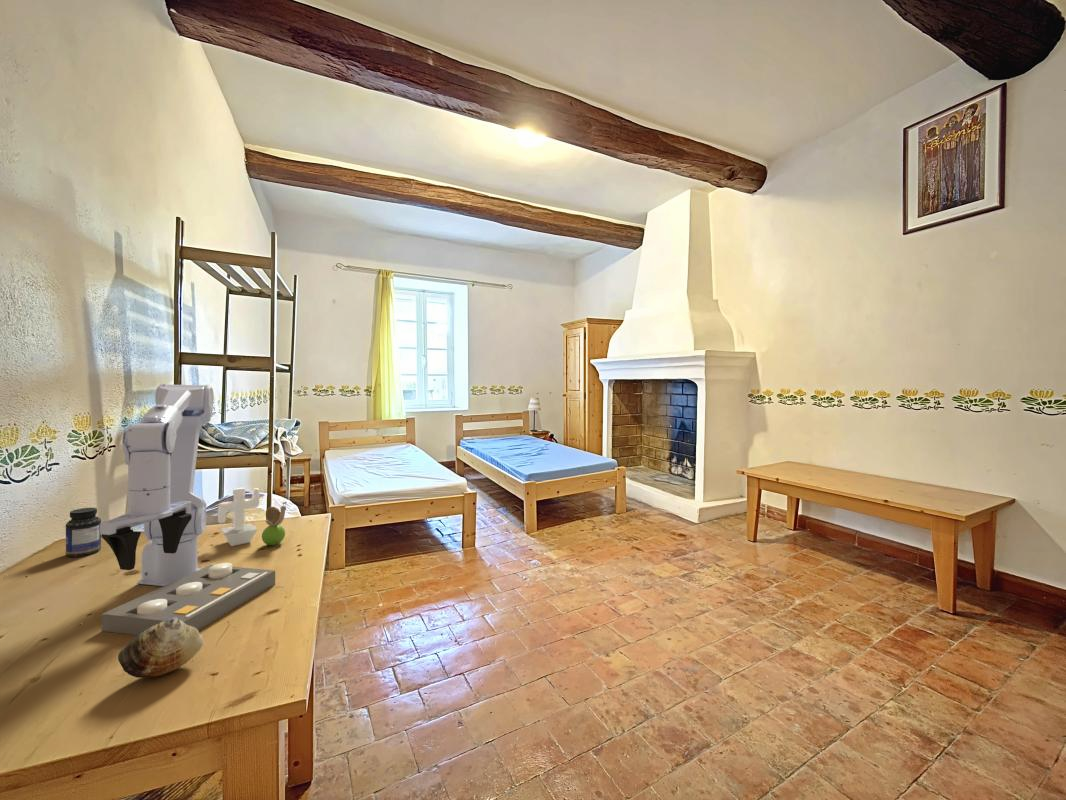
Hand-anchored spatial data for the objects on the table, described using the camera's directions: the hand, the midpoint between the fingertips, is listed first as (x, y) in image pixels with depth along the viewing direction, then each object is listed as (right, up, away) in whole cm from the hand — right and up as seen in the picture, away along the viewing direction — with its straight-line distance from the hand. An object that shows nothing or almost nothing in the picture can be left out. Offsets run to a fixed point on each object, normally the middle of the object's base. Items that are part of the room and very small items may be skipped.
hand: (149, 560), depth 78 cm
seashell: (+16, -11, -15) cm, 25 cm away
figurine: (-10, -10, +38) cm, 40 cm away
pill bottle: (-43, -9, +28) cm, 52 cm away
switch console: (+5, -10, +4) cm, 13 cm away
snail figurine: (+1, -10, +36) cm, 38 cm away
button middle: (+3, -10, +5) cm, 11 cm away
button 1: (+2, -10, -2) cm, 11 cm away
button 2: (+4, -9, +12) cm, 15 cm away
